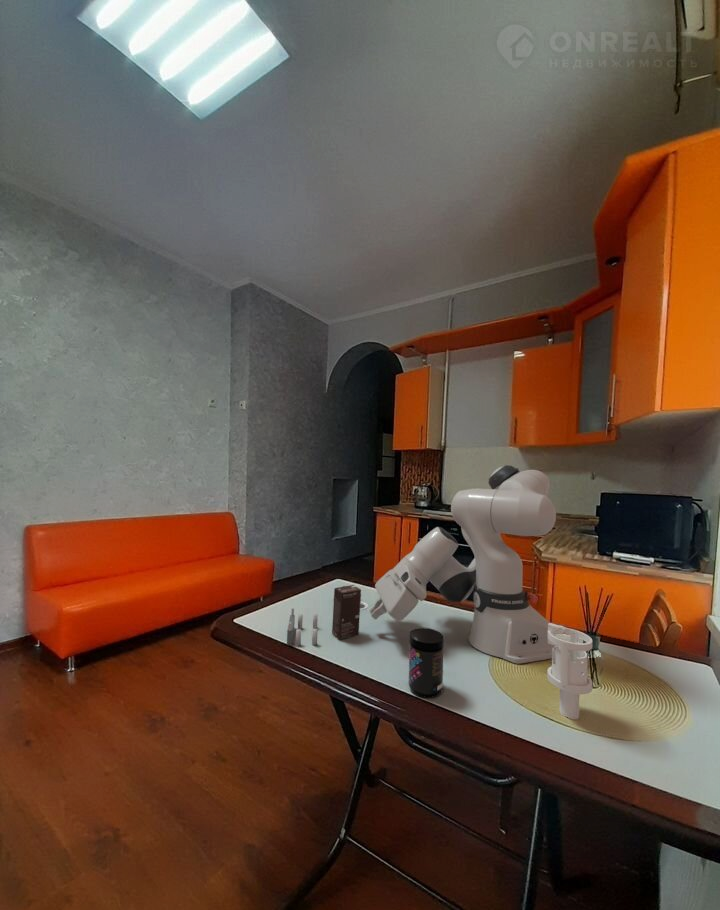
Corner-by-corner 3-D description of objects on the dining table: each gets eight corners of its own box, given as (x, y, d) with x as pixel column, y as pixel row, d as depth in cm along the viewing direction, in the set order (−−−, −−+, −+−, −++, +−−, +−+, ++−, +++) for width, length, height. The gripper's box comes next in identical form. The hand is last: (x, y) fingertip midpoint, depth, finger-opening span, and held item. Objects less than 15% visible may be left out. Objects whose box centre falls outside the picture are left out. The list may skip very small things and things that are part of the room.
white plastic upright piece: (553, 696, 70) (554, 617, 71) (596, 714, 65) (596, 629, 66) (541, 713, 65) (542, 628, 66) (587, 733, 60) (587, 641, 61)
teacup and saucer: (341, 601, 118) (341, 589, 119) (365, 600, 120) (365, 588, 120) (345, 612, 110) (345, 598, 110) (370, 611, 111) (371, 597, 111)
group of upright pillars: (317, 627, 98) (317, 607, 98) (317, 645, 87) (317, 623, 88) (290, 627, 97) (290, 607, 97) (286, 646, 87) (287, 623, 87)
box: (340, 641, 90) (341, 592, 90) (331, 634, 94) (333, 587, 94) (360, 636, 93) (361, 588, 94) (351, 629, 97) (352, 584, 98)
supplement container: (415, 675, 76) (416, 625, 76) (447, 686, 72) (448, 633, 73) (402, 691, 70) (404, 637, 70) (436, 704, 67) (437, 646, 67)
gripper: (392, 558, 106) (358, 593, 105) (411, 581, 86) (370, 624, 84) (406, 573, 107) (373, 607, 105) (428, 599, 86) (388, 642, 85)
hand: (372, 615), depth 95 cm, fingers closed
